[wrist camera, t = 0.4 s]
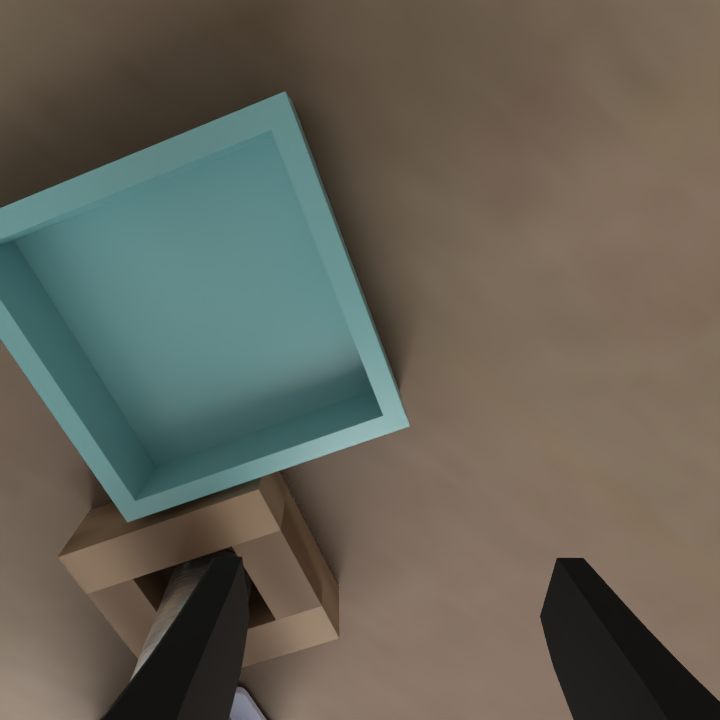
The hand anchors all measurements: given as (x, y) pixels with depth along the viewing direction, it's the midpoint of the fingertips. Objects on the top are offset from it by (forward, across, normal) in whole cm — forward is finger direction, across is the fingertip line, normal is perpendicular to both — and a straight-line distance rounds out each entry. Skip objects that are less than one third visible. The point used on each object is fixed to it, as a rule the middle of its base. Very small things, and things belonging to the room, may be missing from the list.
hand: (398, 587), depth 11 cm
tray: (+11, +7, -2) cm, 13 cm away
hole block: (+10, +7, +10) cm, 16 cm away
